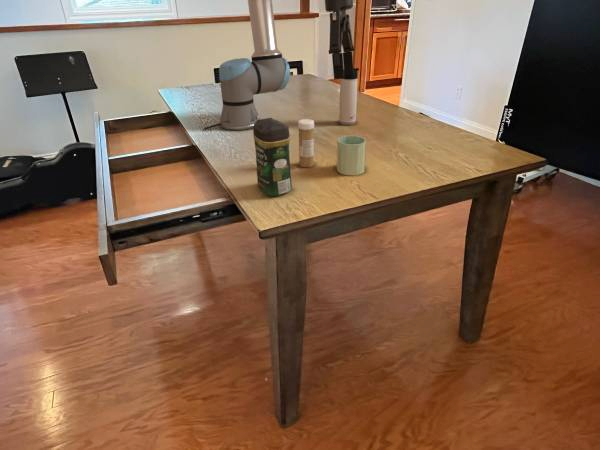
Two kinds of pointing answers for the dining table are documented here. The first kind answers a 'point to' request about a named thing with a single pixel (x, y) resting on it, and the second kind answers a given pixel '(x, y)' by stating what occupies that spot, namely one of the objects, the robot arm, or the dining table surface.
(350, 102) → the travel mug
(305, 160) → the sprinkles bottle
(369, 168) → the dining table surface
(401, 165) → the dining table surface
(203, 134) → the dining table surface
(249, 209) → the dining table surface
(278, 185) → the coffee jar
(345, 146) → the cup
